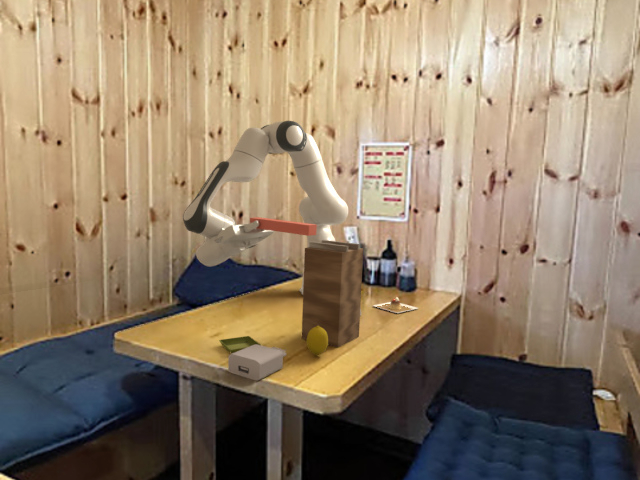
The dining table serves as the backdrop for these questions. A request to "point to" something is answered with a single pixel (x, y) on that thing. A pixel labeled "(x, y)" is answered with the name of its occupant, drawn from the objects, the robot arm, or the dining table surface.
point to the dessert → (395, 306)
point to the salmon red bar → (286, 226)
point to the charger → (256, 361)
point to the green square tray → (238, 343)
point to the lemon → (317, 340)
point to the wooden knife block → (332, 290)
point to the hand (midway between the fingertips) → (264, 222)
